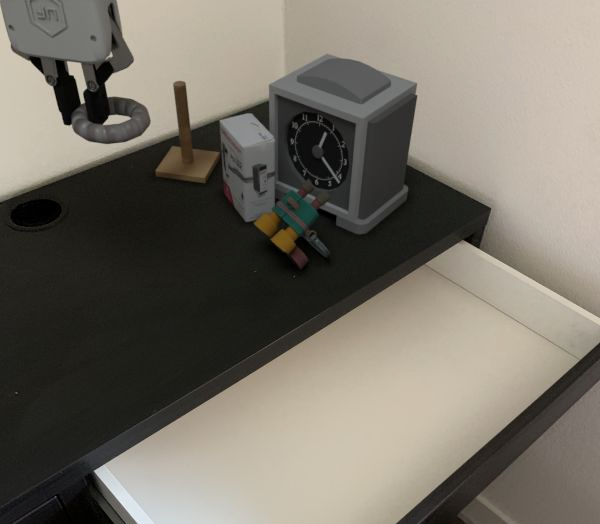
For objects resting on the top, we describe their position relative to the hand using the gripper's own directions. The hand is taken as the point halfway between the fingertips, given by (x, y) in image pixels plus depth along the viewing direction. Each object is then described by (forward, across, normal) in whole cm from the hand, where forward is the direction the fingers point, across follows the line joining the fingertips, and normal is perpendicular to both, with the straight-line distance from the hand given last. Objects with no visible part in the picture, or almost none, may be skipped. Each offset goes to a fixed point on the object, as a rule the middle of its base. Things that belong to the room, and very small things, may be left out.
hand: (86, 120), depth 70 cm
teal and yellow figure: (+21, +20, +10) cm, 31 cm away
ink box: (+21, +11, +21) cm, 32 cm away
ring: (0, +3, 0) cm, 3 cm away
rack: (+21, -1, +28) cm, 35 cm away
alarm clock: (+21, +23, +27) cm, 41 cm away
